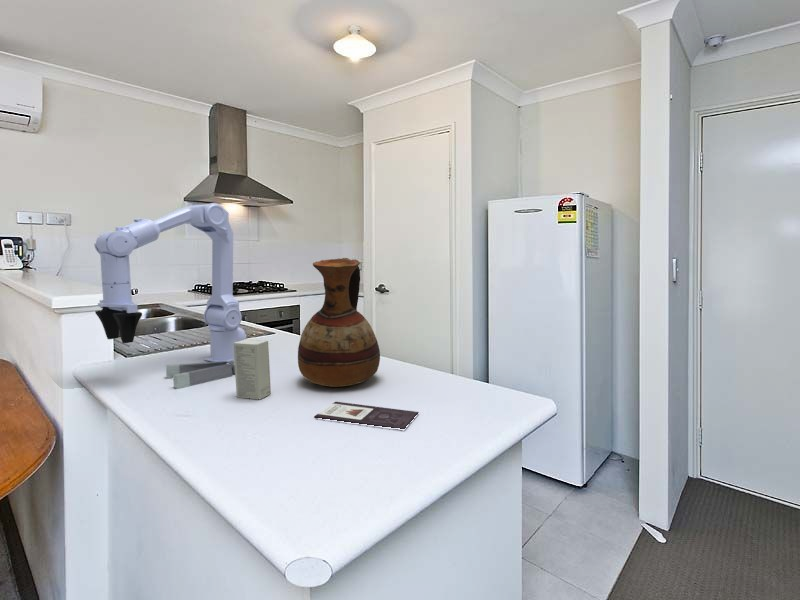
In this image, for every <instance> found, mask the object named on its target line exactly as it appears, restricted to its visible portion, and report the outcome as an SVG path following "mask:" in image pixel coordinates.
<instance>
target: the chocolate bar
mask: <svg viewBox="0 0 800 600" xmlns="http://www.w3.org/2000/svg"><path fill="white" fill-rule="evenodd" d="M418 413H419V414H420V412H419V411H414V410H405V409H399V408H389V407H382V406H373V405H366V404H357V403H350V402H343V401H335V402H333V403H331V404H330V405H328V406H327V407H326V408H324V409H323V410H321V411H320V412H318V413H317V414H316V415H314V416H313V419H314V418H322V419H330V420H337V421H344V422H351V423H359V424H367V425H374V426H382V427H391V428H400V429H405V428H406V426H407V425H408V424H409V423H410V422H411V421H412V420H413V419H414V417H415V416H416V415H417V414H418ZM414 420H415V419H414Z"/></svg>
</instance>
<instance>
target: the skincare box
mask: <svg viewBox="0 0 800 600" xmlns="http://www.w3.org/2000/svg"><path fill="white" fill-rule="evenodd" d="M233 344H234V360H235V375H234V376H235V387H236V388H235V390H236V392H235V393H236V398H242V399H249V398H250V400H258V399H259V400H262V399H264V398H266V397H268V396H270V395H271V394H272V391H271V372H270V371H271V370H270V353H269V352H270V350H269V349H270V348H269V340H264V339H251V338H250V339H247V338H246V339H244V340H241V341H238V342H234V343H233Z"/></svg>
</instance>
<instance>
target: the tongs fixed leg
mask: <svg viewBox="0 0 800 600" xmlns="http://www.w3.org/2000/svg"><path fill="white" fill-rule="evenodd" d="M228 363H229V364H232V376H235V360H232V361H229V362H227V361H218V362H211V361H206V362H192V363H177V364H166V365H165V371H166V373H165V376H166V379H173V375H175V374H180V373H185V372H190V371H195V370H200V369H204V368H209V367H214V366H219V365H224V364H228Z"/></svg>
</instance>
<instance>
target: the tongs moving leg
mask: <svg viewBox="0 0 800 600" xmlns="http://www.w3.org/2000/svg"><path fill="white" fill-rule="evenodd" d="M229 377H233V375H232V364H229V363H228V362H227V364H224V365H219V366H214V367H209V368H204V369H200V370H195V371H190V372H185V373H180V374H175V375H173V378H172V380H173V388H174V389H175V390H179V389H183V388H186V387H190V386H195V385H200V384H204V383H207V382H212V381H216V380H220V379H221V380H222V379H224V378H229Z"/></svg>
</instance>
